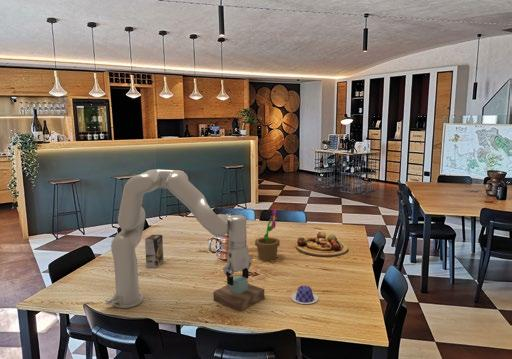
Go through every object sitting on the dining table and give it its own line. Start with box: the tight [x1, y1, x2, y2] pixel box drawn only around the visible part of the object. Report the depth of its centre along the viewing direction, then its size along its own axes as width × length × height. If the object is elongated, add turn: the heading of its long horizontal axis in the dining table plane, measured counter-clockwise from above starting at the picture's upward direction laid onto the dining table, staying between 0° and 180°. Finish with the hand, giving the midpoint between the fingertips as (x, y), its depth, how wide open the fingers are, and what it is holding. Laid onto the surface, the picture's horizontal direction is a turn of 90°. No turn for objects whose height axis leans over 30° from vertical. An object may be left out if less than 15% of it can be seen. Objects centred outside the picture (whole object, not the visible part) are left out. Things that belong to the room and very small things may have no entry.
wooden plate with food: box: [295, 231, 349, 258], centre depth 233 cm, size 32×32×8 cm
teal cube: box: [230, 275, 248, 294], centre depth 167 cm, size 6×6×6 cm
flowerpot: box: [254, 208, 280, 262], centre depth 215 cm, size 14×14×30 cm
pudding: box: [290, 285, 319, 305], centre depth 167 cm, size 12×12×5 cm
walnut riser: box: [213, 282, 265, 312], centre depth 168 cm, size 16×16×4 cm
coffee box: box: [144, 234, 165, 269], centre depth 208 cm, size 9×6×16 cm
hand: (238, 281), depth 167 cm, fingers open, 9 cm apart
